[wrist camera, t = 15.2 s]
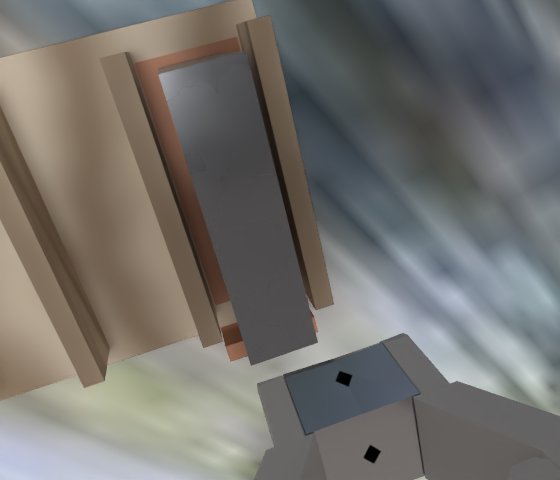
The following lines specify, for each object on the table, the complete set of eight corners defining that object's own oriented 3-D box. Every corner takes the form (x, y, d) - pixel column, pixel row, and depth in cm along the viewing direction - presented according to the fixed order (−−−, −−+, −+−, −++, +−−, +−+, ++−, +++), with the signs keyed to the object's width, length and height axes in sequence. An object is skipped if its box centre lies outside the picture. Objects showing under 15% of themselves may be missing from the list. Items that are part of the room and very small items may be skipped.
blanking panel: (221, 51, 23) (246, 51, 16) (280, 275, 28) (317, 342, 21) (158, 68, 22) (158, 74, 16) (229, 292, 27) (251, 365, 21)
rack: (247, -2, 23) (264, -13, 20) (318, 301, 30) (340, 335, 26) (-180, 104, 21) (-251, 115, 17) (1, 406, 28) (-23, 460, 24)
